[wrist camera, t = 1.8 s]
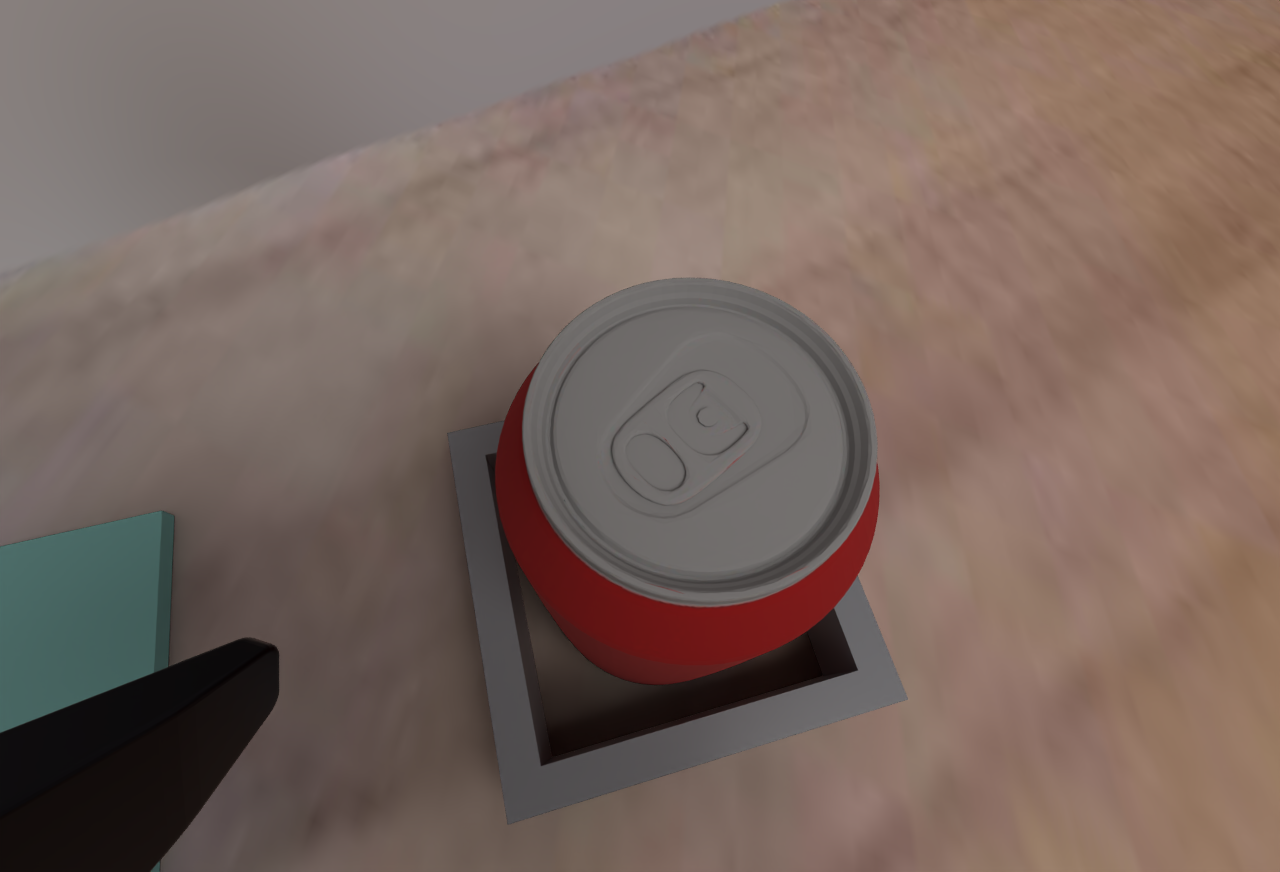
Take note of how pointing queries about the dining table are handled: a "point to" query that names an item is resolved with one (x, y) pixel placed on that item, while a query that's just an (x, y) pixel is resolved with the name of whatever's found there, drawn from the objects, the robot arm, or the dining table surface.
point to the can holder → (547, 783)
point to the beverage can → (688, 478)
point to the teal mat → (83, 614)
